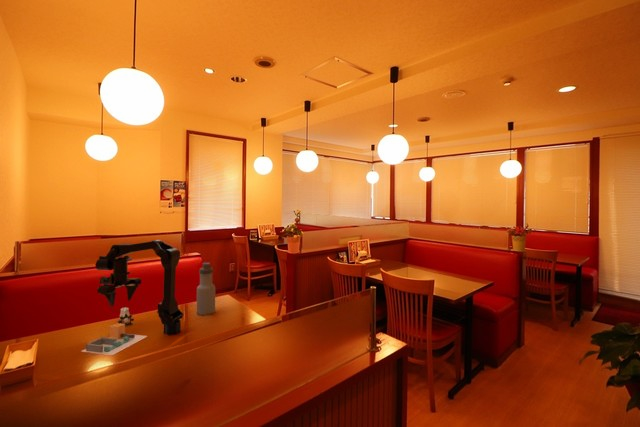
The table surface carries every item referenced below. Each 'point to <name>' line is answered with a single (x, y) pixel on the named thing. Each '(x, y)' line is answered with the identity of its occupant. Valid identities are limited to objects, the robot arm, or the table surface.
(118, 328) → the block
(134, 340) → the board
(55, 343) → the table surface
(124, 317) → the valve
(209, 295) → the water bottle
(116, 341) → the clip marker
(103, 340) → the end holder
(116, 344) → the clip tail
